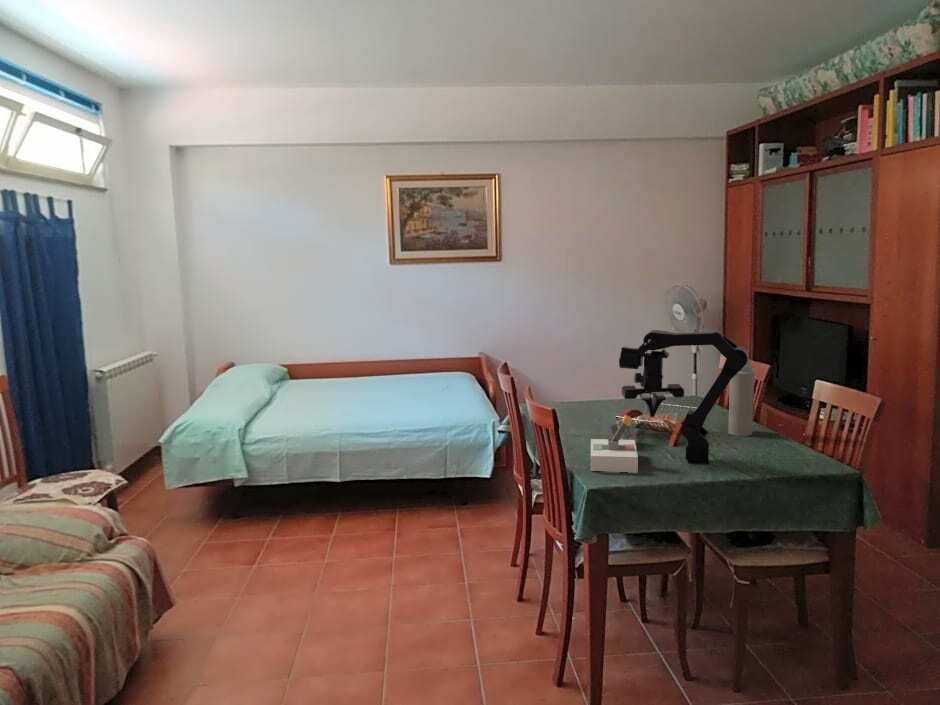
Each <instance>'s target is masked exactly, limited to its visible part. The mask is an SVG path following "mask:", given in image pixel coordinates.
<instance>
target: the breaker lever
mask: <svg viewBox="0 0 940 705" xmlns="http://www.w3.org/2000/svg"><path fill="white" fill-rule="evenodd" d="M621 420H622V424H621V425H620V427H619V429H618V430H617V432H616V433H615V435H614V437H613V436H612V437H611V438H612V439H611V440H610V442H618V441H619V439H620V438H621V436H622V435H623V433H624V431H625V430H626V428H627V426H630V425H631V423H633V421H634V420H633V418H632V416H630V417H629V415H628V414H625V415H624V416H623V417H622V419H621Z"/></svg>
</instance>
